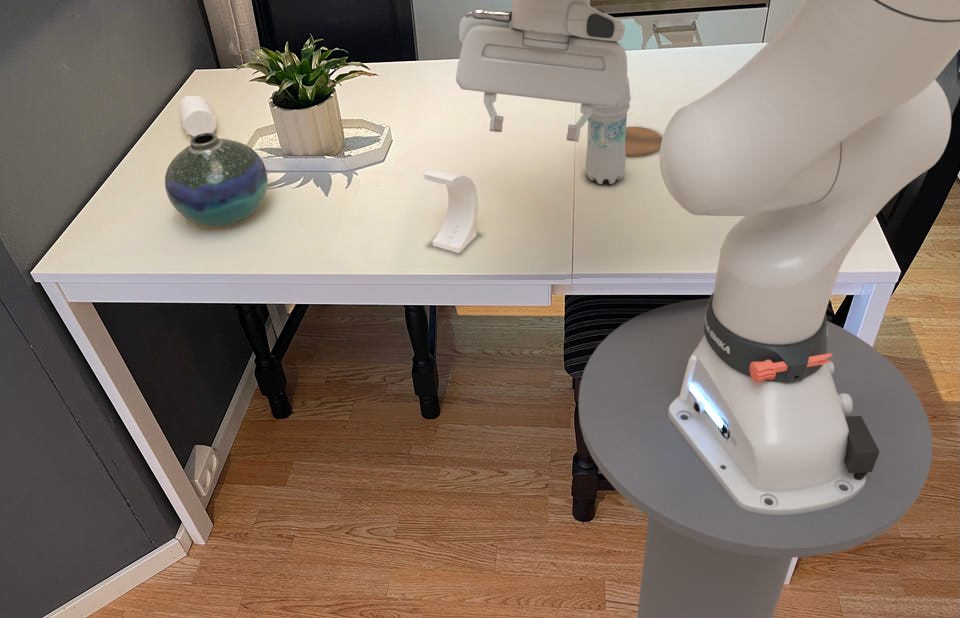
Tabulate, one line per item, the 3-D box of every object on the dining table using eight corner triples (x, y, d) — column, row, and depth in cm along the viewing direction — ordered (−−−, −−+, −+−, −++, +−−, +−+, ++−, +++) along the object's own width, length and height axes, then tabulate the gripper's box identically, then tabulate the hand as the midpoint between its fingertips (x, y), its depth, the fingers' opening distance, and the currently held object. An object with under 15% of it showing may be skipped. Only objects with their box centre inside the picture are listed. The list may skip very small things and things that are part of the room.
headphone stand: (432, 245, 116) (423, 173, 109) (454, 225, 120) (447, 154, 112) (459, 253, 114) (451, 181, 106) (480, 232, 118) (474, 160, 110)
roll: (211, 109, 158) (202, 83, 155) (220, 133, 150) (211, 106, 146) (180, 116, 157) (171, 89, 153) (187, 141, 148) (178, 113, 144)
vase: (294, 196, 130) (275, 122, 121) (236, 248, 119) (211, 170, 111) (219, 182, 135) (196, 110, 127) (158, 230, 124) (128, 155, 116)
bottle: (592, 164, 131) (595, 46, 119) (631, 170, 129) (638, 51, 116) (578, 183, 127) (579, 63, 114) (618, 191, 124) (624, 69, 112)
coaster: (671, 151, 133) (671, 149, 132) (613, 160, 132) (613, 158, 132) (651, 125, 140) (651, 123, 140) (596, 133, 140) (596, 131, 139)
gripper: (457, 6, 89) (446, 129, 94) (638, 27, 88) (617, 150, 93) (463, 6, 95) (453, 122, 100) (633, 25, 94) (614, 141, 99)
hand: (533, 135), depth 97 cm, fingers open, 8 cm apart
